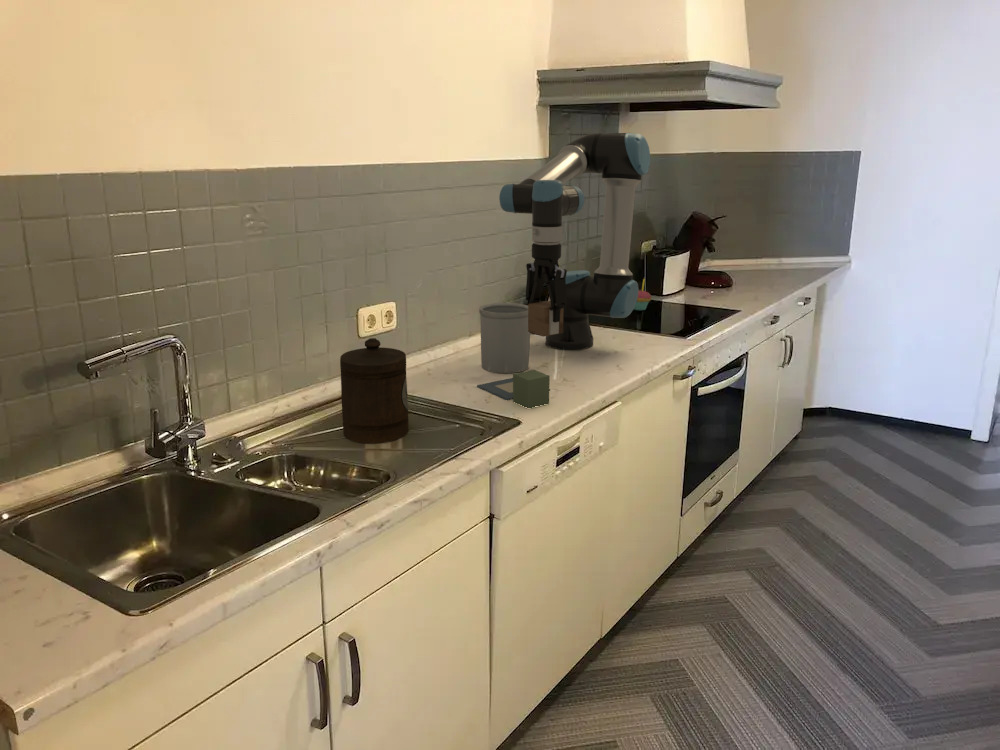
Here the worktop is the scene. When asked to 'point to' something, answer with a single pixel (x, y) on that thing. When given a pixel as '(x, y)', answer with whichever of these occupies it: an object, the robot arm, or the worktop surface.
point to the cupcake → (642, 299)
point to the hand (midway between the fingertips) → (544, 331)
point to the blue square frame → (500, 388)
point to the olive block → (531, 388)
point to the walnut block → (541, 318)
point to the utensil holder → (504, 337)
